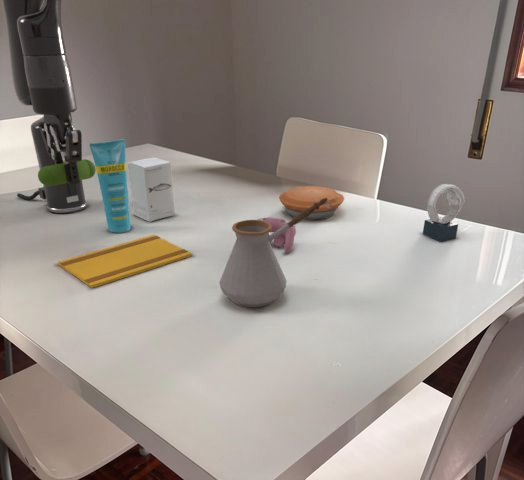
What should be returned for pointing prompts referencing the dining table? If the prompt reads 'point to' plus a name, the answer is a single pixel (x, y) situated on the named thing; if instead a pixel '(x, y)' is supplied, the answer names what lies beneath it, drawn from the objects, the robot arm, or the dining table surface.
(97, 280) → the towel
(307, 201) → the pie
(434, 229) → the ring sculpture on base
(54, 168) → the pickle
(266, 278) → the coffee pot
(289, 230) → the video game controller
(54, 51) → the robot arm
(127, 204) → the tube
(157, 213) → the white packaging box
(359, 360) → the dining table surface
